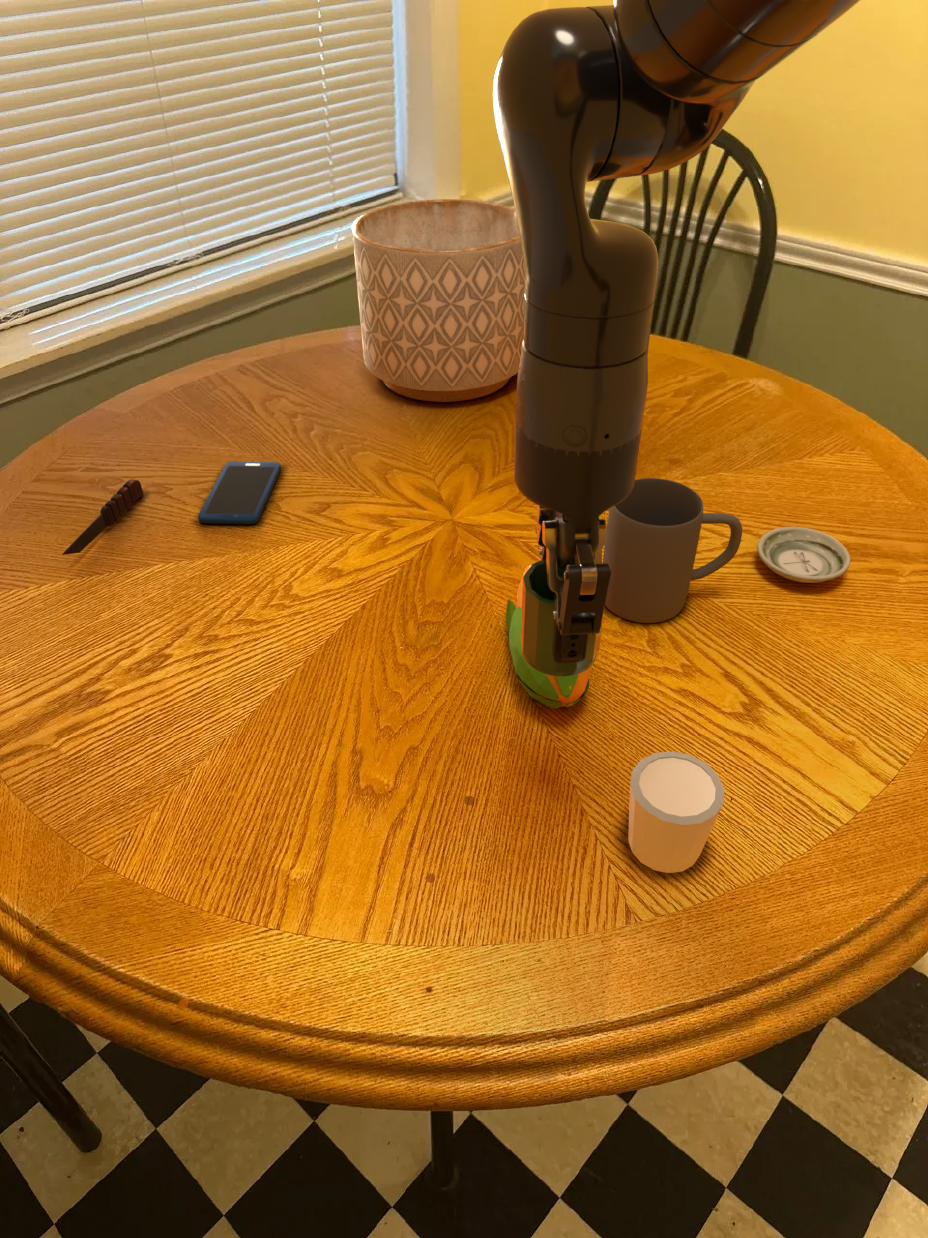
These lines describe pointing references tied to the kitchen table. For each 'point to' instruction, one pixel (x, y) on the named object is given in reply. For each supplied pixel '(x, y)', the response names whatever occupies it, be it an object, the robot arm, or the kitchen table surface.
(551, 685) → the corn
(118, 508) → the knife
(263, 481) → the cell phone
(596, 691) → the kitchen table surface
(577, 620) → the robot arm
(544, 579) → the green faceted cup
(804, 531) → the saucer
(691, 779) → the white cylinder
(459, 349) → the planter
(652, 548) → the mug
